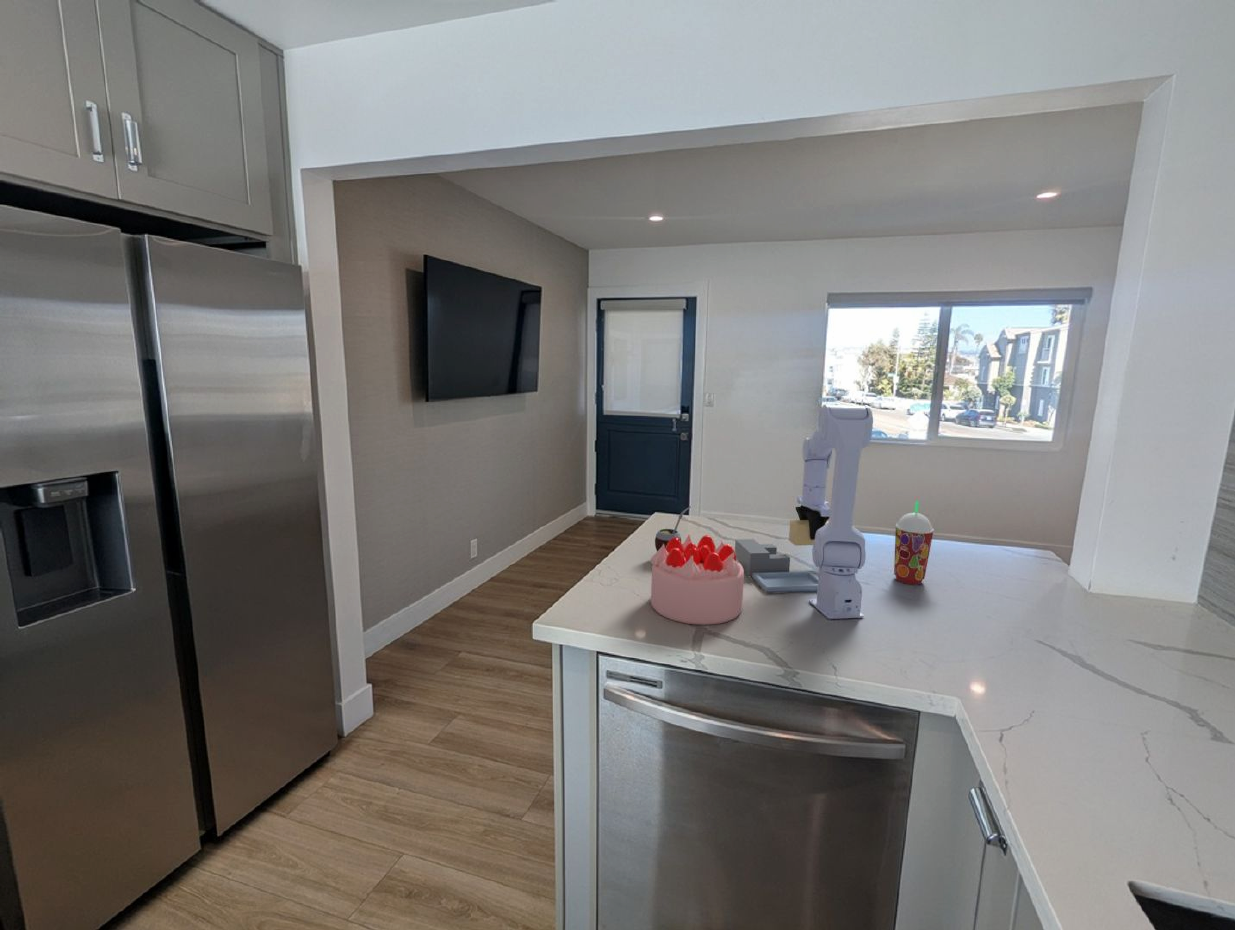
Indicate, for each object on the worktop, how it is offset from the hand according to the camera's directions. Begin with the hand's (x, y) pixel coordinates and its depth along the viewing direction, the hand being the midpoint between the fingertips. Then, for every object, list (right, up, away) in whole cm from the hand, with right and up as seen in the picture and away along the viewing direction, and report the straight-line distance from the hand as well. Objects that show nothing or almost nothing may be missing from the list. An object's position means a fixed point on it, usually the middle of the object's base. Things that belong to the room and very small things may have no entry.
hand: (810, 536), depth 152 cm
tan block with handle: (0, -2, 0) cm, 2 cm away
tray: (-9, -10, -12) cm, 18 cm away
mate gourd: (-36, -7, +5) cm, 37 cm away
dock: (-13, -8, 0) cm, 15 cm away
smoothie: (+22, -10, -8) cm, 25 cm away
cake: (-33, -12, -25) cm, 43 cm away
